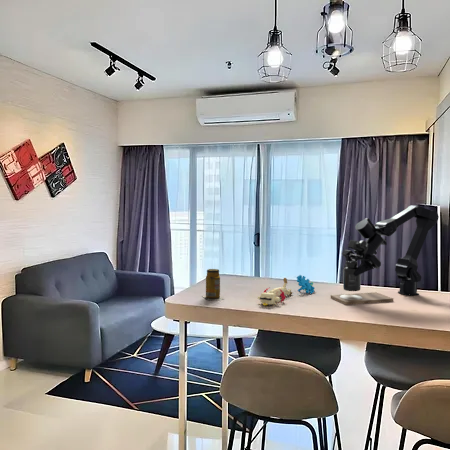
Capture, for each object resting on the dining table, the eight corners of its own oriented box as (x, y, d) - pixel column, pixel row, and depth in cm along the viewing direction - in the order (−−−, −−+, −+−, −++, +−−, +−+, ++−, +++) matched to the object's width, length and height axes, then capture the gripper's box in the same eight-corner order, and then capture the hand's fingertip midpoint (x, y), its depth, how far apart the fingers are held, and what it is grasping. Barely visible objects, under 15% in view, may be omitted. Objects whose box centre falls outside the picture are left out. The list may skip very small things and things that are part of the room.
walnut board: (376, 294, 191) (376, 291, 191) (393, 301, 180) (393, 298, 179) (330, 298, 185) (330, 294, 185) (345, 304, 174) (345, 301, 174)
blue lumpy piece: (306, 292, 189) (294, 273, 194) (297, 300, 192) (286, 282, 197) (320, 291, 197) (308, 274, 202) (312, 299, 199) (300, 282, 205)
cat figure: (275, 296, 195) (252, 303, 173) (276, 276, 195) (253, 281, 173) (296, 298, 190) (275, 306, 168) (297, 278, 190) (276, 284, 168)
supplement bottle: (363, 289, 181) (363, 260, 180) (355, 292, 176) (355, 262, 175) (348, 287, 186) (348, 259, 185) (340, 290, 181) (340, 261, 180)
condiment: (218, 295, 191) (218, 268, 190) (224, 299, 183) (224, 271, 182) (202, 296, 188) (201, 268, 187) (208, 301, 180) (208, 272, 179)
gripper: (345, 231, 189) (324, 258, 186) (375, 234, 172) (352, 264, 169) (360, 248, 193) (339, 275, 190) (391, 253, 176) (368, 283, 172)
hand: (349, 274), depth 180 cm, fingers closed on supplement bottle, 7 cm apart
